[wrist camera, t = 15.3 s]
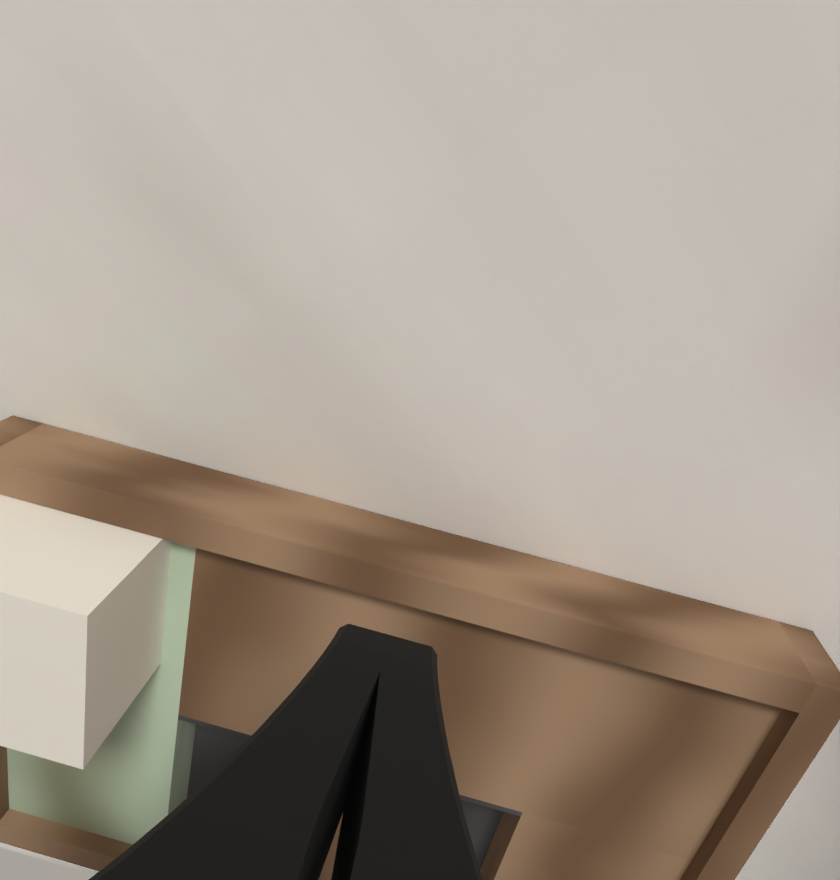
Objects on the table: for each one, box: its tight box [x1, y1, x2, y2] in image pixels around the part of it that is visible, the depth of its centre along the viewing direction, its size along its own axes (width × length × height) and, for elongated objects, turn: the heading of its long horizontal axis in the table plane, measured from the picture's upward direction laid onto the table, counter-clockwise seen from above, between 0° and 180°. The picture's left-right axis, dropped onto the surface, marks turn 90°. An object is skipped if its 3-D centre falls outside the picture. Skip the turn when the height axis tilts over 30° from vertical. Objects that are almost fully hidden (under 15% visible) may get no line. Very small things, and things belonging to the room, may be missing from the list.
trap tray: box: [0, 416, 840, 880], centre depth 22 cm, size 25×16×3 cm, turn 77°
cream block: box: [0, 494, 171, 769], centre depth 18 cm, size 5×5×4 cm
